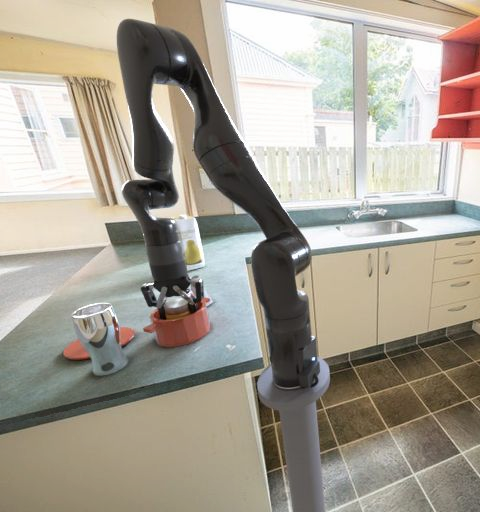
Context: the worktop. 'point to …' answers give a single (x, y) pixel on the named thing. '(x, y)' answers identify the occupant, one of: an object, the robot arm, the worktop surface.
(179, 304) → the can
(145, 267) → the worktop surface
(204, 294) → the flask
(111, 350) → the silver metal cup
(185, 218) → the juice carton
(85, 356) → the lid
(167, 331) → the pot
